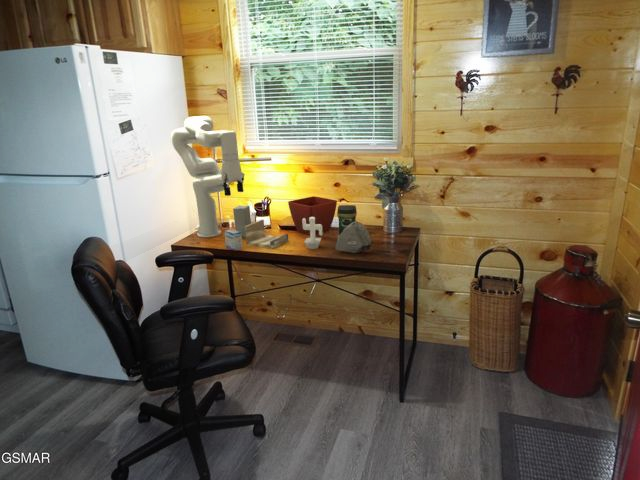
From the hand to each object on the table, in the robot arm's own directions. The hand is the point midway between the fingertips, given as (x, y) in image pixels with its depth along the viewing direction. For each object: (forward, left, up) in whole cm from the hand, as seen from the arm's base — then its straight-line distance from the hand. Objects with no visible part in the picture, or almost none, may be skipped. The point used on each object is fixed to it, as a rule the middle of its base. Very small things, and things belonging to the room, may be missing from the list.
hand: (234, 193), depth 224 cm
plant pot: (+22, +37, -27) cm, 50 cm away
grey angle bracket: (+11, +10, -26) cm, 30 cm away
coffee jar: (+47, +28, -26) cm, 60 cm away
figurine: (+36, +13, -26) cm, 46 cm away
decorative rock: (+57, +14, -27) cm, 64 cm away
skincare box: (-8, +15, -26) cm, 31 cm away
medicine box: (+1, -4, -27) cm, 27 cm away
